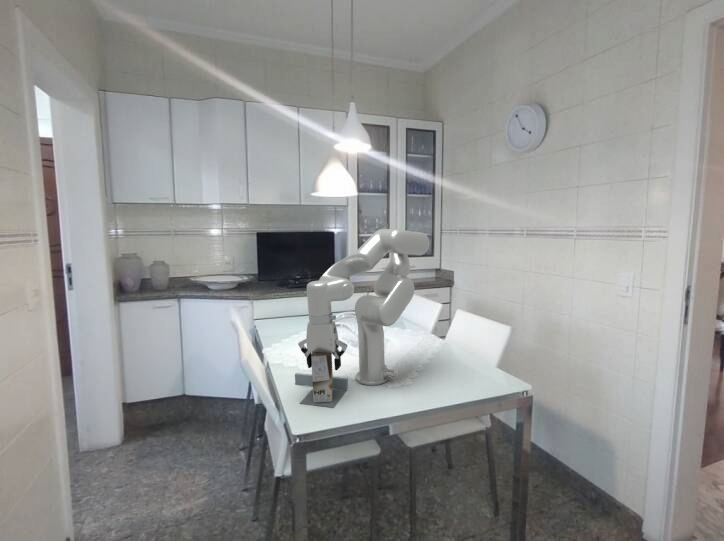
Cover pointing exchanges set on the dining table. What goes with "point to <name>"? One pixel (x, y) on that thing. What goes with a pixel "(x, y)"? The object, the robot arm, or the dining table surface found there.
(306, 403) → the resting mat
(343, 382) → the grey flat bar
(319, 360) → the coffee box
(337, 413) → the dining table surface
